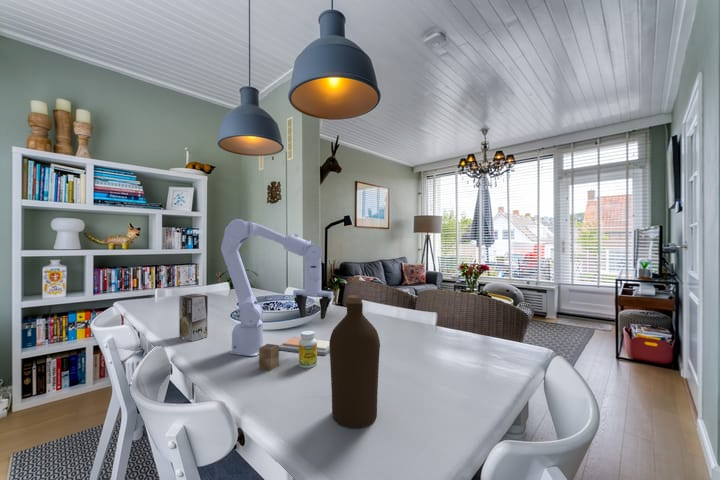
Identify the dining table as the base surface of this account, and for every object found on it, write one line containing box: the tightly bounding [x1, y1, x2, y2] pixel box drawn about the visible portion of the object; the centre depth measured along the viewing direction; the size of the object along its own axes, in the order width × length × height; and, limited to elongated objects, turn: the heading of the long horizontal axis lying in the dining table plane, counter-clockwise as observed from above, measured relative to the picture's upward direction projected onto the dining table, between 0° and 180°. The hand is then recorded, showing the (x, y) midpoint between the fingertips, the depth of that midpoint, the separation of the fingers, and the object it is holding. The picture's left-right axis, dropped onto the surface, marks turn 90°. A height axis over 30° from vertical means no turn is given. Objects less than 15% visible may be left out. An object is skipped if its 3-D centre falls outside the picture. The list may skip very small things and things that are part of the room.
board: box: [278, 336, 330, 356], centre depth 107 cm, size 18×11×2 cm, turn 72°
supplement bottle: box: [298, 330, 318, 369], centre depth 91 cm, size 5×5×10 cm
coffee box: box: [178, 293, 209, 342], centre depth 117 cm, size 9×6×16 cm
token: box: [258, 343, 280, 372], centre depth 90 cm, size 4×4×6 cm
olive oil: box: [329, 294, 381, 429], centre depth 65 cm, size 11×11×25 cm
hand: (312, 317), depth 106 cm, fingers open, 7 cm apart
